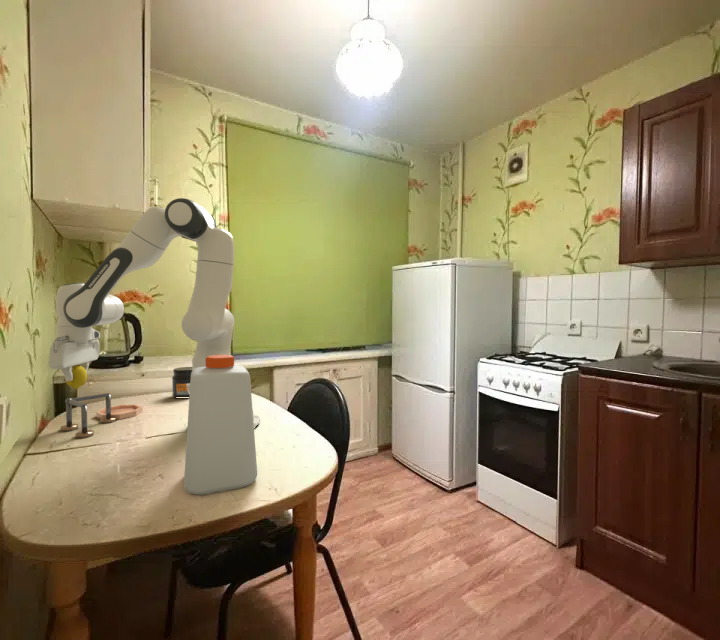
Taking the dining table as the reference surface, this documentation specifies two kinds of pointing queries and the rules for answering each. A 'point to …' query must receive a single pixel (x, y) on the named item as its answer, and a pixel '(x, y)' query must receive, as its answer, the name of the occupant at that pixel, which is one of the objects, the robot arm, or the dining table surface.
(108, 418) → the metal pipe stand
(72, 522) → the dining table surface
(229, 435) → the plastic bottle
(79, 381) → the lemon
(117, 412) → the terracotta dish
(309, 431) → the dining table surface
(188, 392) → the supplement container
